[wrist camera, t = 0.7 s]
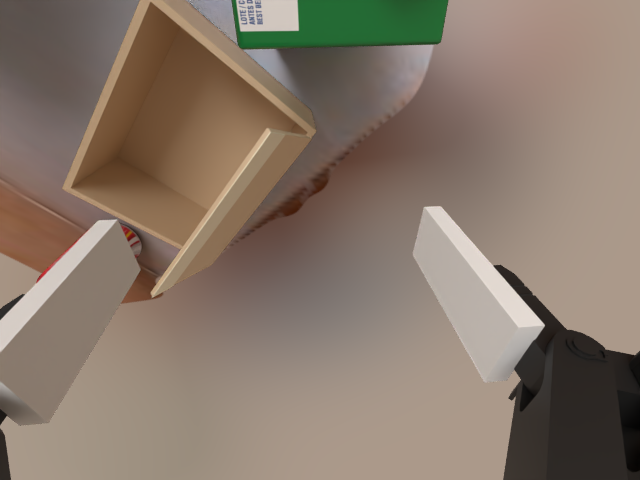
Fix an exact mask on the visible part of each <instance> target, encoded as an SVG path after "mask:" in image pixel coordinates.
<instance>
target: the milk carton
mask: <svg viewBox="0 0 640 480" xmlns="http://www.w3.org/2000/svg"><path fill="white" fill-rule="evenodd" d="M447 5H448V0H232V7H233V14H234V21H235V28H236V35H237V42H238V46H239V47H240V48H241V49H280V48H319V47H357V46H395V45H433V44H439V43H440V42H441V38H442V33H443V27H444V22H445V17H446V11H447Z"/></svg>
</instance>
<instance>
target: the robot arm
mask: <svg viewBox="0 0 640 480" xmlns="http://www.w3.org/2000/svg"><path fill="white" fill-rule="evenodd" d="M413 256H414V258H415V260H416V262H417V264H418V265H419V267H420V269H421V271H422V272H423V274H424V276H425V278H426V280H427V281H428V283H429V285H430V287H431V288H432V290H433V292H434V294H435V296H436V297H437V299H438V301H439V303H440V304H441V306H442V308H443V310H444V312H445V313H446V315H447V317H448V319H449V320H450V322H451V324H452V326H453V327H454V329H455V331H456V333H457V335H458V336H459V338H460V340H461V342H462V343H463V345H464V347H465V349H466V350H467V352H468V354H469V356H470V358H471V359H472V361H473V363H474V365H475V366H476V368H477V370H478V372H479V374H480V375H481V377H482V379H483V381H484V382H494V381H505V380H507V379H508V378H509V376H510V375H511V374H512V372H513V371H514V370H515V371H516V372H517V374H518V376H519V377H520V379H521V381H520V382H519V383H518V385H517V386H516V387H515V389H514V390H513V391H512V393H511V394H510V396H509V399H510V400H513V399H514V397H515V396H516V400H515V406H514V413H513V419H512V426H511V433H510V439H509V446H508V452H507V459H506V466H505V472H504V479H503V480H640V351H639V352H638V353H637V354H636V355H631V354H626V353H620V352H615V351H610V350H605V348H604V347H603V346H602V345H601V344H600V343H598V342H597V341H595V340H594V339H593V338H591V337H589V336H586V335H585V334H583V333H580V332H577V331H573V330H567V329H566V328H565V327H564V326H563V325H562V324H561V323H560V322H559V321H558V320H557V319H556V318H555V317H554V316H553V314H551V312H550V311H549V310H548V309H547V308H546V307H545V306H544V305H543V304H542V303H541V302H540V301H539V300H538V298H537V297H536V296H533V295H532V292H531V291H530V290H529V289H528V288H527V287H525V286H524V284H523V283H522V281H521V280H520V279H519V278H518V277H517V276H516V275H515V274H514V273H512V272H511V271H509V270H508V269H506V268H504V267H503V266H501V265H494V266H493V265H492V264H491V263H490V262H489V261H488V260H487V259H486V257H484V255H483V254H482V253H481V252H480V251H479V250H478V249H477V247H476V246H475V245H474V244H473V243H472V242H471V240H470V239H469V238H468V237H467V236H466V235H465V234H464V233H463V231H462V230H461V229H460V228H459V227H458V226H457V224H456V223H455V222H454V221H453V220H452V219H451V218H450V216H449V215H448V214H447V213H446V212H445V211H444V210H443V208H442V207H441V206H432V207H424V209H423V214H422V218H421V222H420V226H419V230H418V234H417V239H416V243H415V247H414V251H413ZM140 270H141V269H140V267H139V265H138V262H137V260H136V258H135V256H134V254H133V251H132V249H131V247H130V245H129V243H128V241H127V238H126V236H125V234H124V232H123V230H122V227H121V225H120V223H119V221H118V220H98V221H97V222H96V223H95V224H94V225H93V226H92V227H91V228H90V229H89V230H88V231H87V232H86V233H85V234H84V235H83V236H82V237H81V238H80V240H79V241H78V242H77V243H76V244H75V245H74V246H73V247H72V248H71V249H70V250H69V251H68V252H67V253H66V254H65V255H64V256H63V257H62V258H61V259H60V260H59V261H58V262H57V263H56V264H55V265H54V266H53V267H52V268H51V269H50V270H49V271H48V272H47V273H46V274H45V275H44V276H43V277H42V278H41V279H40V280H39V281H38V282H37V283H36V284H35V285H34V286H33V287H32V288H31V290H30V291H28V293H26V294H22V295H20V296H19V297H17V298H16V299H14V300H12V301H11V302H10V303H8V304H6V305H5V306H3V307H2V308H1V309H0V425H1V423H2V422H3V420H4V419H5V418H6V416H8V417H9V418H11V419H12V420H13V421H14V422H16V423H17V424H18V425H20V426H21V425H31V424H42V423H49V421H50V420H51V418H52V416H53V415H54V413H55V411H56V410H57V408H58V406H59V405H60V403H61V401H62V400H63V398H64V396H65V395H66V393H67V391H68V390H69V388H70V386H71V385H72V383H73V382H74V380H75V378H76V376H77V375H78V373H79V371H80V370H81V368H82V367H83V365H84V363H85V362H86V360H87V358H88V357H89V355H90V353H91V352H92V350H93V348H94V347H95V345H96V343H97V342H98V340H99V338H100V336H101V335H102V333H103V332H104V330H105V328H106V327H107V325H108V323H109V322H110V320H111V319H112V317H113V315H114V313H115V312H116V310H117V309H118V307H119V305H120V304H121V302H122V300H123V299H124V297H125V295H126V294H127V292H128V290H129V289H130V287H131V285H132V284H133V282H134V280H135V279H136V277H137V275H138V274H139V272H140ZM0 480H11V477H10V470H9V462H8V455H7V448H6V441H5V435H4V433H3V432H2V430H1V429H0Z"/></svg>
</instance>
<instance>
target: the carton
mask: <svg viewBox="0 0 640 480" xmlns="http://www.w3.org/2000/svg"><path fill="white" fill-rule="evenodd" d="M267 128H271V129H276V130H281V131H286V132H291V133H296V134H301V135H306V136H309V137H310V138H312V137H313V135H314V134H315V133H316V132H317V130H316V127H315V123H314V119H313V115H312V111H311V110H310V109H309V108H308V107H307V106H306V105H305V104H303V103H302V102H301V101H300V100H299V99H298V98H297V97H295V96H294V95H293V94H292V93H291V92H290V91H289V90H287V89H286V88H285V87H284V86H283V85H282V84H281V83H279V82H278V81H277V80H276V79H275V78H274V77H273V76H271V75H270V74H269V73H268V72H267V71H266V70H265V69H264V68H262V67H261V66H260V65H259V64H258V63H257V62H256V61H254V60H253V59H252V58H251V57H250V56H249V55H248V54H246V53H245V52H244V51H243V50H242V49H241V48H240V47H238V46H237V45H236V44H235V43H234V42H233V41H232V40H230V39H229V38H228V37H227V36H226V35H225V34H224V33H222V32H221V31H220V30H219V29H218V28H217V27H216V26H215V25H213V24H212V23H211V22H210V21H209V20H208V19H207V18H205V17H204V16H203V15H202V14H201V13H200V12H199V11H197V10H196V9H195V8H194V7H193V6H192V5H191V4H189V3H188V2H187V1H185V0H140V1H139V4H138V6H137V8H136V11H135V13H134V16H133V18H132V21H131V23H130V25H129V28H128V30H127V33H126V35H125V37H124V40H123V42H122V45H121V47H120V50H119V52H118V54H117V57H116V59H115V62H114V64H113V67H112V69H111V71H110V74H109V76H108V79H107V81H106V83H105V86H104V88H103V91H102V93H101V96H100V98H99V100H98V103H97V105H96V108H95V110H94V113H93V115H92V117H91V120H90V122H89V125H88V127H87V129H86V132H85V134H84V137H83V139H82V142H81V144H80V146H79V149H78V151H77V154H76V156H75V158H74V161H73V163H72V166H71V168H70V171H69V173H68V175H67V178H66V180H65V183H64V185H63V188H62V189H63V190H65V191H67V192H69V193H71V194H73V195H74V196H76V197H78V198H80V199H82V200H84V201H86V202H88V203H90V204H92V205H94V206H96V207H98V208H100V209H102V210H104V211H106V212H108V213H110V214H112V215H114V216H116V217H118V218H120V219H122V220H124V221H126V222H128V223H130V224H132V225H133V226H135V227H137V228H139V229H141V230H143V231H145V232H147V233H149V234H151V235H153V236H155V237H157V238H159V239H161V240H163V241H165V242H167V243H169V244H171V245H173V246H175V247H177V248H179V249H182V247H183V246H184V245H185V243H186V242H187V240H188V239H189V238H190V236H191V235H192V233H193V232H194V230H195V229H196V228H197V226H198V225H199V223H200V222H201V221H202V219H203V218H204V216H205V215H206V214H207V212H208V211H209V209H210V208H211V206H212V205H213V204H214V202H215V201H216V199H217V198H218V197H219V195H220V194H221V192H222V191H223V189H224V188H225V187H226V185H227V184H228V182H229V181H230V180H231V178H232V177H233V175H234V174H235V173H236V171H237V170H238V168H239V167H240V165H241V164H242V163H243V161H244V160H245V158H246V157H247V156H248V154H249V153H250V151H251V150H252V148H253V147H254V146H255V144H256V143H257V141H258V140H259V139H260V137H261V136H262V134H263V133H264V132H265V130H266V129H267Z"/></svg>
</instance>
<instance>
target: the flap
mask: <svg viewBox="0 0 640 480" xmlns="http://www.w3.org/2000/svg"><path fill="white" fill-rule="evenodd" d="M311 140H312V139H311V138H310V137H309V136H306V135H301V134H296V133H291V132H286V131H281V130H276V129H271V128H267V129H266V130H265V132H264V133H263V134H262V136H261V137H260V139H259V140H258V141H257V143H256V144H255V146H254V147H253V148H252V150H251V151H250V153H249V154H248V156H247V157H246V158H245V160H244V161H243V163H242V164H241V165H240V167H239V168H238V170H237V171H236V173H235V174H234V175H233V177H232V178H231V180H230V181H229V182H228V184H227V185H226V187H225V188H224V189H223V191H222V192H221V194H220V195H219V197H218V198H217V199H216V201H215V202H214V204H213V205H212V206H211V208H210V209H209V211H208V212H207V214H206V215H205V216H204V218H203V219H202V221H201V222H200V223H199V225H198V226H197V228H196V229H195V230H194V232H193V233H192V235H191V236H190V238H189V239H188V240H187V242H186V243H185V245H184V246H183V247H182V249H181V250H180V252H179V253H178V255H177V256H176V257H175V259H174V260H173V262H172V263H171V264H170V266H169V267H168V269H167V270H166V271H165V273H164V274H163V276H162V277H161V279H160V280H159V281H158V283H157V284H156V286H155V287H154V288H153V290H152V291H151V293H150V294H151V295H152V297H151V298H153V297H155V296H157V295H158V294H160V293H162V292H164V291H166V290H168V289H169V288H171V287H173V285H175V284H177V283H179V282H181V281H183V280H185V279H186V278H188V277H190V276H192V275H194V274H196V273H198V272H200V271H201V270H203V269H205V268H207V267H209V266H211V265H212V264H213V263H214V262H215V260H216V259H217V258H218V257H219V255H220V254H221V253H222V252H223V250H224V249H225V248H226V247H227V245H228V244H229V243H230V242H231V240H232V239H233V238H234V237H235V235H236V234H237V233H238V231H239V230H240V229H241V228H242V226H243V225H244V224H245V223H246V221H247V220H248V219H249V218H250V216H251V215H252V214H253V213H254V211H255V210H256V209H257V208H258V206H259V205H260V204H261V203H262V201H263V200H264V199H265V198H266V196H267V195H268V194H269V192H270V191H271V190H272V189H273V187H274V186H275V185H276V184H277V182H278V181H279V180H280V179H281V177H282V176H283V175H284V174H285V172H286V171H287V170H288V169H289V167H290V166H291V165H292V164H293V162H294V161H295V160H296V159H297V157H298V156H299V155H300V154H301V152H302V151H303V150H304V148H305V147H306V146H307V145H308V143H309V142H310V141H311Z"/></svg>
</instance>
